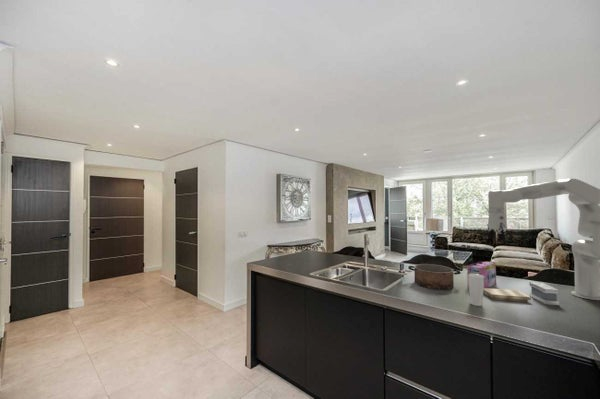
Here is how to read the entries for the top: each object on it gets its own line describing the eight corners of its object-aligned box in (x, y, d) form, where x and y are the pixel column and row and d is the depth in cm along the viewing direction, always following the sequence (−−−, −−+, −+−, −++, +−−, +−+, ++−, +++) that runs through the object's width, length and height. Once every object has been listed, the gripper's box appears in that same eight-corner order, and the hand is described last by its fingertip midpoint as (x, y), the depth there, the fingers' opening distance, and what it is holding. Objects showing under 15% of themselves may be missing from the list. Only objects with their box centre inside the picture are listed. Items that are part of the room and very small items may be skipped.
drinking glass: (479, 308, 127) (479, 277, 128) (465, 303, 133) (465, 274, 134) (487, 305, 131) (486, 276, 131) (472, 301, 137) (472, 273, 137)
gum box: (483, 280, 173) (483, 260, 174) (497, 283, 167) (497, 262, 167) (467, 286, 160) (466, 265, 160) (481, 290, 154) (481, 267, 154)
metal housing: (542, 297, 142) (542, 282, 143) (558, 305, 131) (558, 289, 131) (529, 296, 144) (529, 282, 144) (545, 304, 132) (544, 289, 132)
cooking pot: (457, 282, 169) (456, 266, 170) (464, 293, 149) (464, 274, 149) (408, 277, 181) (407, 262, 181) (408, 287, 160) (408, 269, 160)
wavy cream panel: (518, 295, 145) (517, 290, 145) (530, 302, 134) (530, 297, 134) (482, 293, 149) (482, 287, 149) (491, 300, 138) (491, 294, 138)
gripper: (512, 211, 144) (513, 241, 144) (494, 210, 161) (494, 237, 161) (498, 211, 145) (498, 241, 145) (481, 210, 162) (481, 237, 162)
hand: (496, 239), depth 153 cm, fingers open, 9 cm apart
